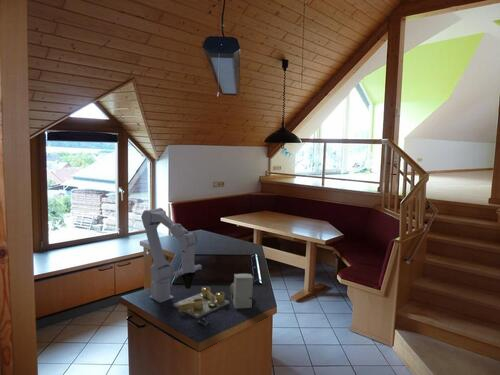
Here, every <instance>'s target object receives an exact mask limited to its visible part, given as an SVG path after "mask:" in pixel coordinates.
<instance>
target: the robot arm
mask: <svg viewBox="0 0 500 375" xmlns="http://www.w3.org/2000/svg"><path fill="white" fill-rule="evenodd" d="M140 219H141V221H142V225H143V228H144V230H145V234H146V237H147V242H148V245H149V250H150V253H151V257H152V260H153V264H152V265H151V266H150V269H149V270H150V278H151V282H150V295H149V298H151V299H152V300H155V301H156V302H158V303H163V302H166V301H169V300H171V299H174V296H173V295H171V280H172V278H173V277H175V278H178V277H181V278H182V281H183V283H184V284H183V285H184V287H185V289H187V290H189V289H191V287H192V283H193V280H194V278H195V276H196V275H197V273H196V271H200V270H202V267H203V266H202V264H199V263H198V264H195V245H196V244H197V242H198V236H197V234H196V233H195V232H194V231H190V230H189V231H188V229H186V228H185V227H184V226H182V224H181V223H175V222H174V221H173V220H172V219H171V218H170V217H169V216H168V215H167V212H166V210H164V209H163V208H162V207H158V208H154V209H146V210H145V209H144V210H143V212H142V214H141V218H140ZM160 225H163V226H165V227H166V228H167V229H169V232H170V234H171V235H172V236H173V237H175V239H177V240H178V243H179V246H180V250H181V268H179V269H177V270H176V271H174V268H173V267H172V265H171V262H170V261H168V260H167V259H165V256H164V255H165V254H164V252H163V248H162V244H161V240H160V236H159V234H158V229H157V228H158V227H159V226H160Z"/></svg>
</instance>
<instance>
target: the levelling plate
mask: <svg viewBox="0 0 500 375" xmlns="http://www.w3.org/2000/svg"><path fill="white" fill-rule="evenodd" d="M213 295H214V303H212V302H211V301H210V300H209V299H208V298H207V297H202V296H201V292H200V293H197V294H194V295H192V296H189V297H187V298H184V299H182V300H180V301H177V302H174V303H172V307H174V309H175V308H176V309H177V310H178V304H183V303H188V302H193V300H194V299H196V298H201V299H203V309H201V310H195V309H193V310H188V311H183V312H184V313H186V314H188V315H189V316H191V317H194V318H195V319H199V318H201V317H203V316H205V315H208V314H210V313H212V312H214V311H216V310H219V309H221V308H223V307H225V306H227V305H230V300H227V299H226V293H225V292H224V291H217V292H216V293H215V294H213ZM183 312H182V313H183Z"/></svg>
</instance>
